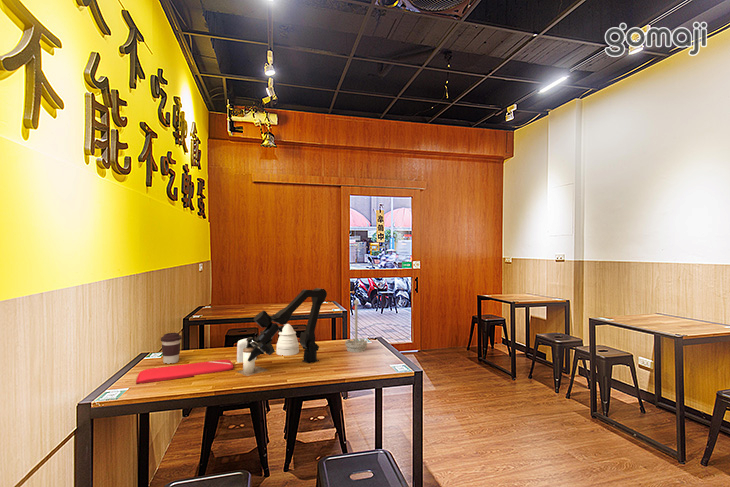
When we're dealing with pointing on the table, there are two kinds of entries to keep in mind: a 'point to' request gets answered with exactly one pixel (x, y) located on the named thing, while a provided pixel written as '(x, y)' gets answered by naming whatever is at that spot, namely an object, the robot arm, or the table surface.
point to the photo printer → (241, 349)
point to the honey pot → (287, 342)
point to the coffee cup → (171, 347)
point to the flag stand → (356, 345)
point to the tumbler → (248, 366)
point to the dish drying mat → (183, 371)
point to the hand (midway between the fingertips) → (246, 359)
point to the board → (257, 370)
